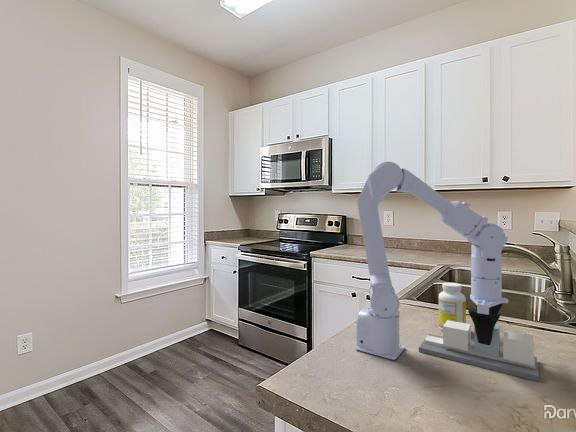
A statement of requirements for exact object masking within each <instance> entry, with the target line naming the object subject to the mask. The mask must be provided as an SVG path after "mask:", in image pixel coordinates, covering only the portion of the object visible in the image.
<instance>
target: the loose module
mask: <svg viewBox="0 0 576 432" xmlns="http://www.w3.org/2000/svg"><path fill="white" fill-rule="evenodd" d="M473 329H474V330H473V331H474V332H473V333H474V334H473V335H474V336H473V337H474V338H473V341H474V342H473V343H474V352H478V353H483V354H487V355H491V356H496V357H499V354H500V349H501V323H498V322H496V324H495V327H494V330H493V336H492V341H491V344H490V345H485V344H480V343H479V342H478V339H477V335H476V330H475V326H474V328H473Z"/></svg>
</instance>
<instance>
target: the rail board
mask: <svg viewBox="0 0 576 432" xmlns="http://www.w3.org/2000/svg"><path fill="white" fill-rule="evenodd" d="M471 327H472V325H471V324H470V323H467V322H466V323H461V322H455V321H450V320H447V321H446V323H445V324H444V326H443V331H442V336H440V335H435V334H431V333H428V334H427V336H426V337H425V339H424V340H423V341H422V342H421V344H420V345H419V347H418V353H423V354H427V355H431V356H435V357H438V358H443V359H447V360H451V361H455V362H459V363H463V364H466V365H467V364H468V365H470V366H475V367H478V368H482V369H487V370H491V371H495V372H499V373H503V374H507V375H509V376H510V375H511V376H515V377H519V378H523V379H527V380H530V381H535V382H538V383H539V382H540V373H539V372H540V371H539V365H538V364H539V363H538V357H537V356H534V353H535V352H534V351H535V350H534V348H535V346H534V335H529V334H526V333H520V332H514V331H509V330H503V331H504V332H503V336H502V337H503V338H502V342H503V344H502V345H503V346H502V347H503V348H502V349H501V348H500V354H499V357H496V356H491V355H487V354H483V353H478V352H474V342H473V343H472V342H471V341H472V337H471V336H472V333H471V332H472V328H471Z"/></svg>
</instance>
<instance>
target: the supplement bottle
mask: <svg viewBox="0 0 576 432" xmlns="http://www.w3.org/2000/svg"><path fill="white" fill-rule="evenodd" d="M441 286H442V291H440V293H439V294H438V328H439V330H440V331H442V332H443V326H444V324H445V323H446V321H447V320H450V321H455V322H461V323H466V324H467V309H466V308H467V304H466V303H467V300H466V296H465V294H464V293H462V292H461V291H462V284H460V283H458V282H443V283H442V285H441Z"/></svg>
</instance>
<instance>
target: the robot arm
mask: <svg viewBox="0 0 576 432" xmlns="http://www.w3.org/2000/svg"><path fill="white" fill-rule="evenodd" d="M396 188H397V189H396ZM394 189H396V192H397V193H404V194H405V193H407V194H410V195H412V196H414V197H415V198H417V199H419V200H420V201H422V202H423V203H425V204H426V205H427V206H430V208H432V209H434V211H435V210H436V211H437V213H439V217H440V220H441V222H442V223H444V224H445V225H447V226H448V227H450V228H451V229H453V230H454V231H455V232H457V233H458V234H459V235H461V236H462V237H463V238H466V240H467V242H468V243H469V244H471V245H470V246H471V247H470V248H471V251H470V252H471V255H470V278H471V279H470V295H469V299H470V300H471V301H472V302H473V304H474V305H475V308H472V307H469V308H468V310H467V311H468V314H469V317H470V318H471V320H472V323H473V325H474V326H475V330H476V335H477V339H478V342H479V343H480V344H485V345H490V344H491V341H492V336H493V330H494V327H495V324H496V323H498V321H499V319H500V317H501V313H499V312H500V309H502V306H503V304H508V303H509V299H508V298H506V297H502V295H503V294H502V290H503V289H502V287H503V285H502V283H503V282H502V279H503V277H502V274H503V273H502V272H503V270H502V269H503V268H502V267H503V266H502V258H503V257H502V249H503V248H504V247H505V246H506V244H507V242H508V236H506V233H505V232H504V229H503V228H502V226H499V225H498V224H496V223H489V222H488V220H489V217H487V216H485V215H480V214H478V213H477V212H476V211H474V210H473V209H471V208H470V203H468V202H466V201H463V202H461V201H460V200H454V201H450V200H448V199H447V198H446V197H444V196H443V195H442V194H440V193H439V192H437V191H436V190H435V189H434V188H432V187H431V186H430V185H428V184H427V183H426V182H425V181H423V180H422V179H421V178H419V177H417V176H416V175H415V174H413V173H412V172H411V171H409V170H408V169H406V168H404V167H402V168H401V167H400V165H399V164H397V163H395V162H392V161H383V162H381V163H380V164H378V165H377V166H376V167H375V168H374V169H373V170H372V171H371V172H370V173H369V175H368V176H367V179H366V181H365V183H364V185H363V188H362V190H361V192H360V193H359V196H358V197H357V201H356V202H357V203H356V205H357V210H358V215H359V220H360V221H359V222H360V225H361V232H362V233H361V234H362V238H363V239H362V240H363V243H364V248H365V250H364V251H365V255H366V262H367V266H368V273H369V279H370V287H369V290H368V294H369V299H370V300H369V301H370V302H369V303H370V306H369V307H367V308H366V309H365V308H363V309H361V310H360V311H358V315H357V319H356V347H355V350H356V351H360V352H364V353H367V354H371V355H374V356H379V357H381V358H384V359H389V360H392V361H395V360H397V358H398V357H399V356H400V355H401V353H403V351H404V350H405V349H406V346H405V345H402V344H400V311H399V308H400V305H401V304H400V299H399V296H398V295H397V294H396V292H395V288H394V286H393V284H392V280H391V276H390V269H389V266H388V260H387V254H386V248H385V242H384V236H383V230H382V226H381V220H380V219H381V218H380V214H379V213H380V212H379V207H378V206H379V205H380V203H382V201H383V199H384V198H385V197H386V195H387V194H389V193H390V192H392V191H394Z"/></svg>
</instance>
